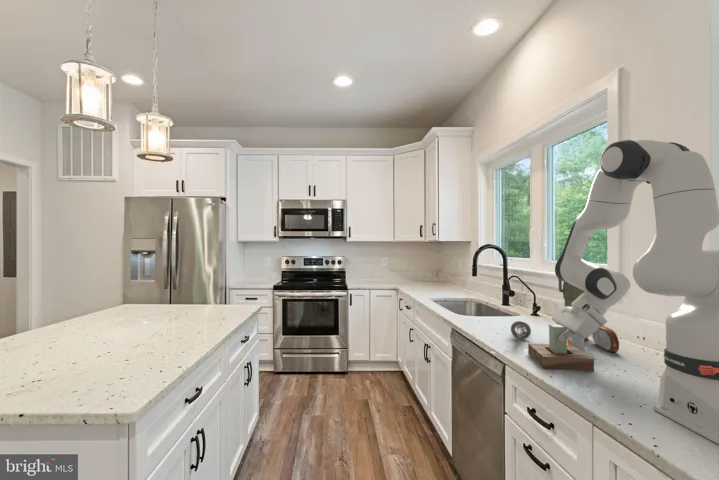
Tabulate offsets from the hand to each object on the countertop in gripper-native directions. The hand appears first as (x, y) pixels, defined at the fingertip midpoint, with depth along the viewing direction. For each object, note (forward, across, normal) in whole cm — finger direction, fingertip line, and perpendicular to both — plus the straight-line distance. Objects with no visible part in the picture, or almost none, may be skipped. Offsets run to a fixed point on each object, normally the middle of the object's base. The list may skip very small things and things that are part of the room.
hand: (555, 337), depth 113 cm
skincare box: (-3, -15, +15) cm, 21 cm away
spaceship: (+9, -28, +4) cm, 30 cm away
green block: (+3, 0, +4) cm, 5 cm away
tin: (-11, -19, +24) cm, 32 cm away
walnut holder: (+6, 0, +6) cm, 9 cm away
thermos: (-8, -33, +21) cm, 40 cm away
